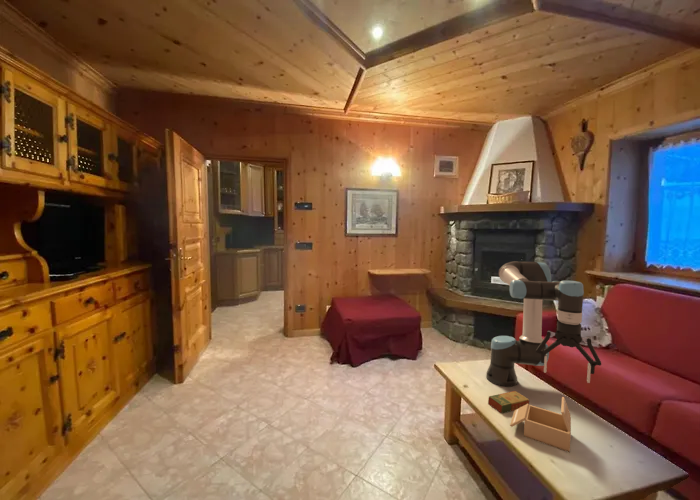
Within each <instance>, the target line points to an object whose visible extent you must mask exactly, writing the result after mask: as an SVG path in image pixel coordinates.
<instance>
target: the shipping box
mask: <svg viewBox="0 0 700 500" xmlns="http://www.w3.org/2000/svg"><path fill="white" fill-rule="evenodd" d="M571 418H572V417H571V416H570V432H568V430H567V428H566V425H565V422H564V419H563V416H562V413H558V412H555V411H552V410H548V409H545V408H542V407H539V406H534V405H532V404H530V403H529V404H526V405H524V406H522V407H520V408H518V409H516V410H515V411H513V414H512V417H511V420H510V423H509V426H510V428H512V427H514V426H517V425H519V424H521V423H522V422H524V427H523V437H524V438H527V439H529V440H531V441H532V440H533V441H535V442H538V443H541V444H544V445H547V446H550V447H553V448H554V449H558V450H561V451H564V452H566V453H570V452H571V451H570V450H571V437H572V433H571V431H572V429H571V428H572V419H571Z"/></svg>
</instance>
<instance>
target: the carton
mask: <svg viewBox="0 0 700 500" xmlns="http://www.w3.org/2000/svg"><path fill="white" fill-rule="evenodd" d="M487 404H488V405H489V406H491V407H492V408H493V409H494V410H497V412H499V413H500V414H507V413H510V412H514V411H515V410H516V409H518V408H520V407H522V406H524V405H526V404H529V405H530V400H529V398H528V397H526V396H525V395H522V394H521V393H520V392H518V391H516V390H513V391H507V392H503V393H498V394H493V395H488V401H487Z"/></svg>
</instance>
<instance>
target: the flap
mask: <svg viewBox="0 0 700 500" xmlns="http://www.w3.org/2000/svg"><path fill="white" fill-rule="evenodd" d="M560 414H562V416H563V419H564V422H565V425H566V428H567V430H568V432H570V417H571V413H570V410H569V407H568V404H567V401H566V399H565V397H564V396H562V397H561V408H560Z"/></svg>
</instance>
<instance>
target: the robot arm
mask: <svg viewBox="0 0 700 500" xmlns="http://www.w3.org/2000/svg"><path fill="white" fill-rule="evenodd" d="M551 273H552V272H551V269H550V267H549V265H548V264H547V263H546V262H540V261H517V260H516V261H515V260H514V261H509V262H506V263H504V264H503V265H502V266H501V267H500V268H499V269H498V278H499V279H500V280H501V282H503V283H505V284H507V285H508V286H509V295H510V296H511V298H513V299H519V300H522V299H523V307H522V308H523V311H522V312H523V314H522V315H523V316H522V334H521V335H520V336H519V338H518V340H516V338H514V337H513V336H509V335H498V336H495V337H493V338H491V344H490V364H489V366H488V368H487V371H486V374H485V377H486V380H488V381H489V382H491V383H493V384H495V385H498V386H502V387H515V386H516V385H518V376H517V372H516V369H515V364H520V365H528V366H534V367H537V366H539V367H543V373H546V374H547V369H548V367H547V366H548V365H547V364H548V361H549V357H550V352H551V351H553V350H554V349H555V348H556V347H558V346H560V345H561V346H564V347H569V348H574V347H575V348H576V349H577V350H578V351H579V352H580V354H581V355H582V356H583V357H584V358H585V359H586V361H587V371H586V373H587V374H586V375H587V376H586V383H587V384H590V383H591V375H594V374H595V369H596V366H602V361H601V359H600V357H599V355H598V353H597V351H596V349H595V347H594V345H593V343H592V338H591V337H590V336H587V337H583V336H582V321H583V320H582V319H583V303H584V295H585V291H584V284H583V283H582V282H581V281H576V280H561V281H560V280H553V281H552V274H551ZM543 301H554V302H555V301H556V302H557V306H558V307H557V318H556V319H557V322H556V332H553V331H551V330H549V329H548V330H547V332H546V335H545V336H544V338H543V337H542V330H543V328H542V327H543ZM553 337H555V339H556V340H555V341H554V342H552V343H551V344H549V345H548V344H547V343H548V341H549V340H550V338H553ZM582 341H583V342H584V344H586V345H587V347H588V349H589V351H590V353H591V355H592V356H593V358H592V357H591V356H590V355H589V354H588V353H587V351H586V350H585V349H584V347H582V345H581V344H580V343H581V342H582ZM593 359H594V360H593Z"/></svg>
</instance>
